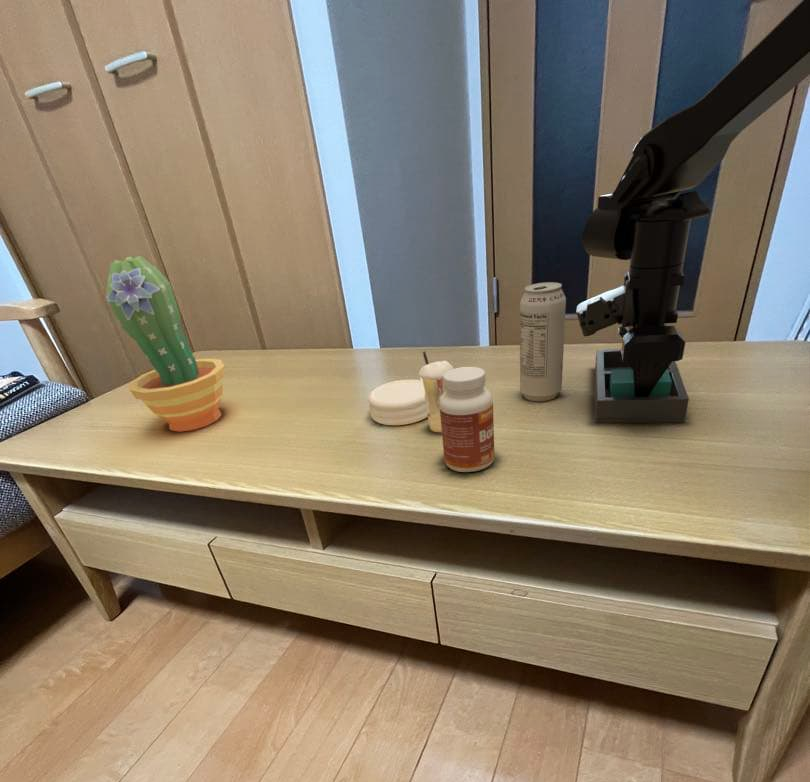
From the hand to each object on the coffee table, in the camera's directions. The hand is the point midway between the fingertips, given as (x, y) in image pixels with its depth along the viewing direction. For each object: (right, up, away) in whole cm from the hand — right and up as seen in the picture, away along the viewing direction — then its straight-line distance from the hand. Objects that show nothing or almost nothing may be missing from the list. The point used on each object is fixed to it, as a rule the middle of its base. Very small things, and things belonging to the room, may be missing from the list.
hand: (638, 393), depth 69 cm
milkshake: (-26, -4, +4) cm, 27 cm away
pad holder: (+2, +1, +5) cm, 5 cm away
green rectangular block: (0, -1, +1) cm, 1 cm away
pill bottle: (-23, -10, -5) cm, 26 cm away
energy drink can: (-11, +2, +9) cm, 14 cm away
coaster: (-31, 0, +10) cm, 33 cm away
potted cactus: (-67, +1, +20) cm, 70 cm away
